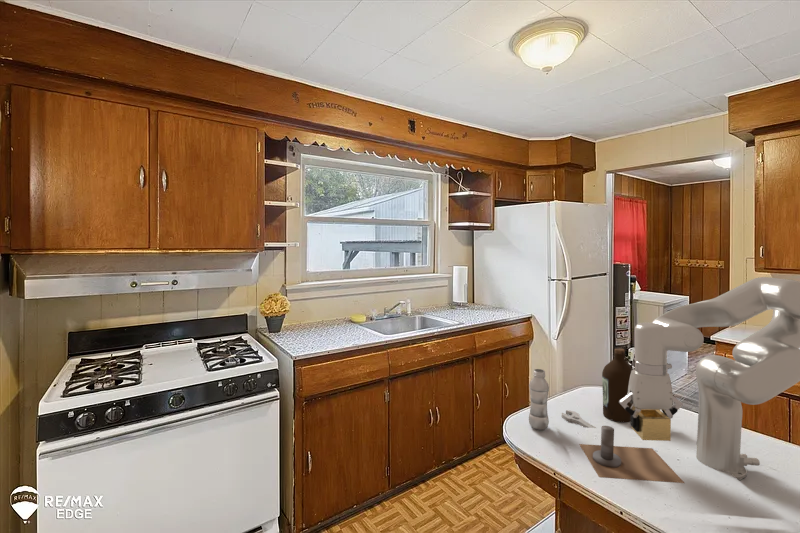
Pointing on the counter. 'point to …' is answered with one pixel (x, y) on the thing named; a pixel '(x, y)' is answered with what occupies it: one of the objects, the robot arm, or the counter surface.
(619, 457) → the shaft board
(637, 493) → the counter surface
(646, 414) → the brass collar
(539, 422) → the plastic bottle
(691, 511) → the counter surface
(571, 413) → the adjustable wrench
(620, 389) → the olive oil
